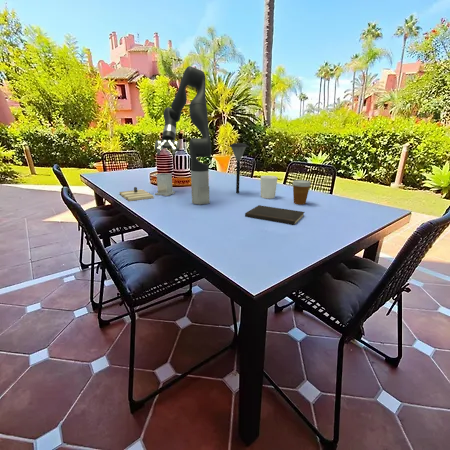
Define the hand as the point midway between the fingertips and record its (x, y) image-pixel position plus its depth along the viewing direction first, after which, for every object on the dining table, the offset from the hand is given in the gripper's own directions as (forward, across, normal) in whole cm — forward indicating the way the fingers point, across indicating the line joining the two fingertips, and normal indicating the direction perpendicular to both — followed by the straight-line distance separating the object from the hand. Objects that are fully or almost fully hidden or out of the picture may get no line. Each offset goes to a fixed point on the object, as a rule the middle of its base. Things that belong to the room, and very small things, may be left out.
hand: (165, 155), depth 157 cm
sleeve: (+15, -1, +18) cm, 23 cm away
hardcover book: (+46, +58, -14) cm, 76 cm away
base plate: (+20, -17, +13) cm, 30 cm away
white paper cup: (+19, +61, +12) cm, 65 cm away
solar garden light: (+12, +43, +19) cm, 49 cm away
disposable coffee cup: (+28, +76, +2) cm, 81 cm away
